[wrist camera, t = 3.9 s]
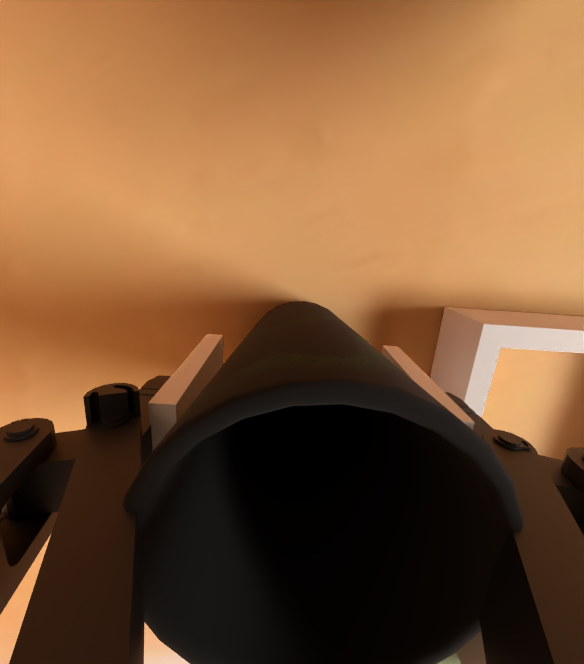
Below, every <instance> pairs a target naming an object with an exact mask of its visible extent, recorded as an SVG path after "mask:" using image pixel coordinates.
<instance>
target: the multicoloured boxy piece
mask: <svg viewBox="0 0 584 664" xmlns="http://www.w3.org/2000/svg"><path fill="white" fill-rule="evenodd" d="M501 348H512V349H527V350H542V351H557V352H573V353H584V316H570V315H555V314H541V313H527V312H512V311H498V310H484V309H469V308H455V307H445V309H444V314H443V318H442V323H441V328H440V332H439V337H438V342H437V346H436V351H435V356H434V360H433V365H432V370H431V374H430V378H431V379H432V380H433V381H434V382H435V383H436V384H437V385H438V386H439V387H440V388H441V389H442V390H443V391H444V392H449V393H451V394H453V395H455V396H456V397H458V398H460V399H462V400H463V401H464V402H465V403H466V404H467V405H468V406H469V408H471V409H472V410H473V411H474V412H475V413H476V414H478V415H479V416H480V417H481V418H482V414H483V410H484V407H485V403H486V399H487V396H488V392H489V389H490V385H491V381H492V378H493V374H494V371H495V367H496V363H497V360H498V356H499V352H500V349H501ZM437 664H486V660H485V653H484V646H483V640H482V633H481V631H480V632H479V633H478V634H477V635H476V636H475V637H473V638H472V639H471V640H470V641H469V642H468V643H467V644H465V645H464V646H463V647H462V648H461V649H460V650H458V651H457V652H456V653H455V654H453V655H451V656H450V657H448V658H446V659H444V660H443V661H441V662H439V663H437Z"/></svg>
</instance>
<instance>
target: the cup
mask: <svg viewBox="0 0 584 664" xmlns="http://www.w3.org/2000/svg"><path fill="white" fill-rule="evenodd" d="M123 507H124V508H125V510H126V511H136V515H137V523H138V532H139V540H140V552H141V563H142V579H143V594H144V622H145V623H146V624H147V625H148V626H149V628H150V629H151V630H152V631H153V633H154V634H155V635H156V636H157V638H158V639H159V640H160V641H161V642H163V643H164V644H165V645H167V646H168V647H169V648H170V649H172V650H173V651H174V652H176V653H177V654H178V655H179V656H181V657H182V658H183V659H185V660H186V661H187V662H189V663H190V664H437V663H439V662H441V661H443V660H444V659H446V658H448V657H450V656H451V655H453V654H455V653H456V652H457V651H458V650H460V649H461V648H462V647H463V646H464V645H465V644H467V643H468V642H469V641H470V640H471V639H472V638H473V637H475V636H476V635H477V634H478V633H479V632H480V631H481V627H480V619H481V615H482V610H483V606H484V602H485V598H486V594H487V588H488V584H489V581H490V578H491V575H492V572H493V569H494V566H495V563H496V560H497V557H498V555H499V554H500V552H501V550H502V548H503V546H504V544H505V542H506V540H507V538H508V536H509V534H510V532H511V529H514V530H522V528H523V523H524V518H523V514H522V510H521V507H520V503H519V499H518V495H517V492H516V488H515V484H514V481H513V479H512V477H511V476H510V474H509V473H508V471H507V470H506V468H505V467H504V465H503V464H502V462H501V461H500V459H499V458H498V456H497V455H496V453H495V452H494V450H493V449H492V447H491V446H490V444H489V443H488V442H486V441H485V440H484V439H483V438H482V437H480V436H479V435H478V434H477V433H476V432H474V431H473V430H472V429H471V428H470V427H468V426H467V425H466V424H465V423H464V422H462V421H461V420H460V419H459V418H458V417H456V416H455V415H454V414H453V413H452V412H450V411H449V410H448V409H447V408H446V407H444V406H443V405H442V404H441V403H440V402H438V401H437V400H436V399H435V398H434V397H432V396H431V395H430V394H429V393H428V392H426V391H425V390H424V389H423V388H422V387H421V386H419V385H418V384H417V383H416V382H415V381H413V380H412V379H411V378H410V377H409V376H407V375H406V374H405V373H404V372H403V371H401V370H400V369H399V368H398V367H397V366H395V365H394V364H393V363H392V362H391V361H389V360H388V359H387V358H386V357H385V356H383V355H382V354H381V353H380V352H379V351H377V350H376V349H375V348H374V347H373V346H371V345H370V344H369V343H368V342H367V341H365V340H364V339H363V338H362V337H361V336H359V335H358V334H357V333H356V332H355V331H354V330H352V329H351V328H350V327H349V326H348V325H346V324H345V323H344V322H343V321H342V320H340V319H339V318H338V317H337V316H336V315H334V314H333V313H332V312H331V311H329V310H328V309H326V308H324V307H322V306H320V305H318V304H314V303H309V302H290V303H287V304H283V305H280V306H278V307H276V308H274V309H273V310H271V311H269V312H268V313H267V314H266V315H265V316H264V317H263V318H262V319H261V320H260V321H259V322H258V323H257V324H256V326H255V327H254V328H253V329H252V330H251V332H250V333H249V334H248V335H247V337H246V338H245V339H244V340H243V341H242V343H241V344H240V345H239V346H238V347H237V349H236V350H235V351H234V352H233V354H232V355H231V356H230V357H229V358H228V360H227V361H226V362H225V363H224V365H223V366H222V367H221V368H220V369H219V371H218V372H217V373H216V374H215V376H214V377H213V378H212V379H211V380H210V382H209V383H208V384H207V385H206V387H205V388H204V389H203V390H202V391H201V393H200V394H199V395H198V396H197V397H196V399H195V400H194V401H193V402H192V404H191V405H190V406H189V407H188V408H187V410H186V411H185V412H184V413H183V415H182V416H181V417H180V418H179V419H178V421H177V422H176V423H175V424H174V426H173V427H172V428H171V429H170V430H169V432H168V433H167V434H166V435H165V437H164V438H163V439H162V440H161V441H160V443H159V444H158V445H157V446H156V447H155V449H154V450H153V451H152V452H151V454H150V455H149V456H148V457H147V459H146V461H145V462H144V464H143V466H142V467H141V469H140V471H139V472H138V474H137V476H136V477H135V479H134V481H133V482H132V484H131V486H130V487H129V489H128V491H127V492H126V494H125V496H124V501H123Z"/></svg>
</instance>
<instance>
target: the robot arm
mask: <svg viewBox="0 0 584 664" xmlns="http://www.w3.org/2000/svg"><path fill="white" fill-rule="evenodd" d="M381 354H382V355H383V356H385V357H386V358H387V359H388V360H389V361H391V362H392V363H393V364H394V365H395V366H397V367H398V368H399V369H400V370H401V371H403V372H404V373H405V374H406V375H407V376H409V377H410V378H411V379H412V380H413V381H415V382H416V383H417V384H418V385H419V386H421V387H422V388H423V389H424V390H425V391H426V392H428V393H429V394H430V395H431V396H432V397H434V398H435V399H436V400H437V401H438V402H440V403H441V404H442V405H443V406H444V407H446V408H447V409H448V410H449V411H450V412H452V413H453V414H454V415H455V416H456V417H458V418H459V419H460V420H461V421H462V422H464V423H465V424H466V425H467V426H468V427H470V428H471V429H472V430H473V431H474V432H476V433H477V434H478V435H479V436H480V437H482V438H483V439H484V440H485V441H486V442H488V443H489V444H490V446H491V447H492V449H493V450H494V452H495V453H496V455H497V456H498V458H499V459H500V461H501V462H502V464H503V465H504V467H505V468H506V470H507V471H508V473H509V474H510V476H511V477H512V479H513V481H514V484H515V488H516V492H517V495H518V499H519V503H520V507H521V510H522V514H523V518H524V523H523V528H522V530H514V529H511V532H510V534H509V536H508V538H507V540H506V542H505V544H504V546H503V548H502V550H501V552H500V554H499V555H498V557H497V560H496V563H495V566H494V569H493V572H492V575H491V578H490V581H489V584H488V588H487V594H486V598H485V602H484V606H483V610H482V615H481V619H480V627H481V633H482V640H483V646H484V653H485V660H486V664H584V448H573V447H572V448H570V449H567V452H566V454H565V457H564V460H563V461H562V460H557V459H553V458H549V457H545V456H540V455H538V453H537V451H536V449H535V448H534V447H533V446H532V445H531V444H530V443H529V442H527V441H526V440H524V439H523V438H521V437H518V436H516V435H514V434H512V433H508V432H505V431H501V430H494V429H493V428H491V427H490V426H489V425H488V424H487V423H486V422H485V421H484V420H483V419H482V418H481V417H480V416H479V415H478V414H476V413H475V412H474V411H473V410H472V409H471V408H469V406H468V405H467V404H466V403H465V402H464V401H463V400H462V399H460V398H458V397H456V396H455V395H453V394H451V393H449V392H444V391H443V390H442V389H441V388H440V387H439V386H438V385H437V384H436V383H435V382H434V381H433V380H432V379H431V378H430V377H429V376H428V375H427V374H426V373H425V372H424V371H423V370H422V369H420V368H419V367H418V366H417V365H416V364H415V363H414V362H413V361H412V360H411V359H410V358H409V357H408V356H407V355H406V354H405V353H404V352H403V351H402V350H401V349H400V348H399V347H398V346H386V345H383V346H382V352H381ZM222 366H223V335H219V334H206V336H205V337H204V338H203V339H202V340H201V342H200V343H199V344H198V345H197V346H196V347H195V349H194V350H193V351H192V352H191V353H190V354H189V356H188V357H187V358H186V359H185V360H184V361H183V363H182V364H181V365H180V366H179V367H178V369H177V370H176V371H175V372H174V373H173V374H172V376H157V377H155V378H153V379H151V380H149V381H147V382H146V383H145V384H144V385H143V386H142V387H141V389H138V387H136V386H134V385H132V384H127V383H114V384H108V385H103V386H100V387H97V388H94V389H92V390H91V391H89V392H87V393H86V395H85V396H84V397H83V398H84V405H85V413H86V421H87V426H86V429H83V430H77V431H69V432H61V433H55V430H54V425H53V422H52V421H50V420H48V419H43V418H33V419H22V420H21V421H19V420H18V421H15V422H12V423H10V424H8V425H6V426H3V427H1V428H0V614H1V613H2V611H3V610H4V608H5V606H6V605H7V603H8V602H9V600H10V598H11V597H12V595H13V594H14V592H15V590H16V589H17V587H18V586H19V584H20V582H21V581H22V579H23V578H24V576H25V574H26V573H27V571H28V570H29V568H30V566H31V565H32V563H33V562H34V560H35V558H36V557H37V555H38V554H39V552H40V550H41V549H42V547H43V546H44V544H45V542H46V541H47V539H48V538H49V536H50V534H51V533H52V534H51V537H50V540H49V543H48V546H47V549H46V552H45V555H44V558H43V561H42V564H41V567H40V570H39V574H38V577H37V580H36V583H35V586H34V589H33V592H32V595H31V598H30V601H29V604H28V607H27V610H26V614H25V617H24V620H23V623H22V626H21V629H20V632H19V635H18V638H17V641H16V644H15V647H14V650H13V654H12V657H11V660H10V663H9V664H144V594H143V579H142V563H141V552H140V540H139V532H138V523H137V515H136V511H126V510H125V508H124V507H123V501H124V496H125V494H126V492H127V491H128V489H129V487H130V486H131V484H132V482H133V481H134V479H135V477H136V476H137V474H138V472H139V471H140V469H141V467H142V466H143V464H144V462H145V461H146V459H147V457H148V456H149V455H150V454H151V452H152V451H153V450H154V449H155V447H156V446H157V445H158V444H159V443H160V441H161V440H162V439H163V438H164V437H165V435H166V434H167V433H168V432H169V430H170V429H171V428H172V427H173V426H174V424H175V423H176V422H177V421H178V419H179V418H180V417H181V416H182V415H183V413H184V412H185V411H186V410H187V408H188V407H189V406H190V405H191V404H192V402H193V401H194V400H195V399H196V397H197V396H198V395H199V394H200V393H201V391H202V390H203V389H204V388H205V387H206V385H207V384H208V383H209V382H210V380H211V379H212V378H213V377H214V376H215V374H216V373H217V372H218V371H219V369H220V368H221V367H222Z"/></svg>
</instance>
